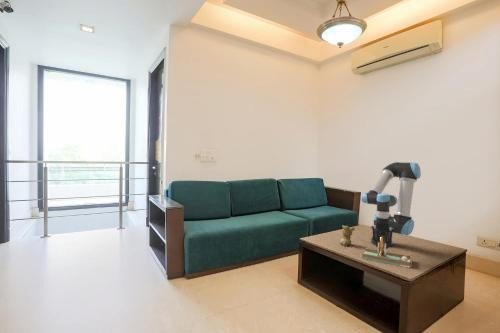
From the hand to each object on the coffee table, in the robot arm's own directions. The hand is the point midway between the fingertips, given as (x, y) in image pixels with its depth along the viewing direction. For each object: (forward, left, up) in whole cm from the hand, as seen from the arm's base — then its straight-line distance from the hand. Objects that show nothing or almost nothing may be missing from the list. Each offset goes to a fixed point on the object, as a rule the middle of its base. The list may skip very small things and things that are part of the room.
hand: (381, 252), depth 176 cm
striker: (0, 0, -3) cm, 3 cm away
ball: (0, +13, -2) cm, 13 cm away
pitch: (0, +3, -4) cm, 5 cm away
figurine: (-16, -26, -4) cm, 31 cm away
